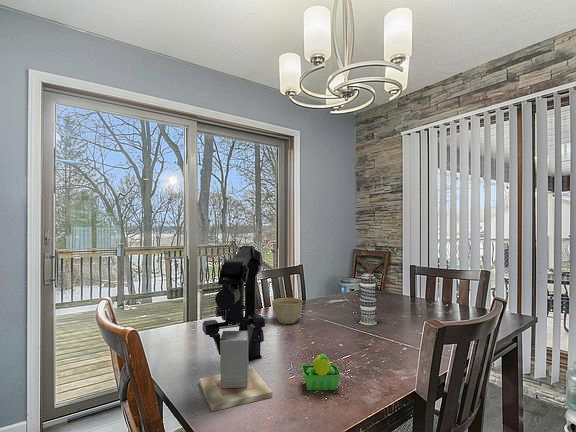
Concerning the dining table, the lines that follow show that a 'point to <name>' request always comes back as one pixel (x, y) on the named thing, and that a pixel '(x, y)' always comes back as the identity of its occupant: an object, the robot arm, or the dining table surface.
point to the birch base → (234, 391)
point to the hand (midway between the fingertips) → (234, 351)
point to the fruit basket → (321, 374)
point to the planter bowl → (287, 309)
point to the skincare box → (234, 359)
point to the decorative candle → (368, 299)
